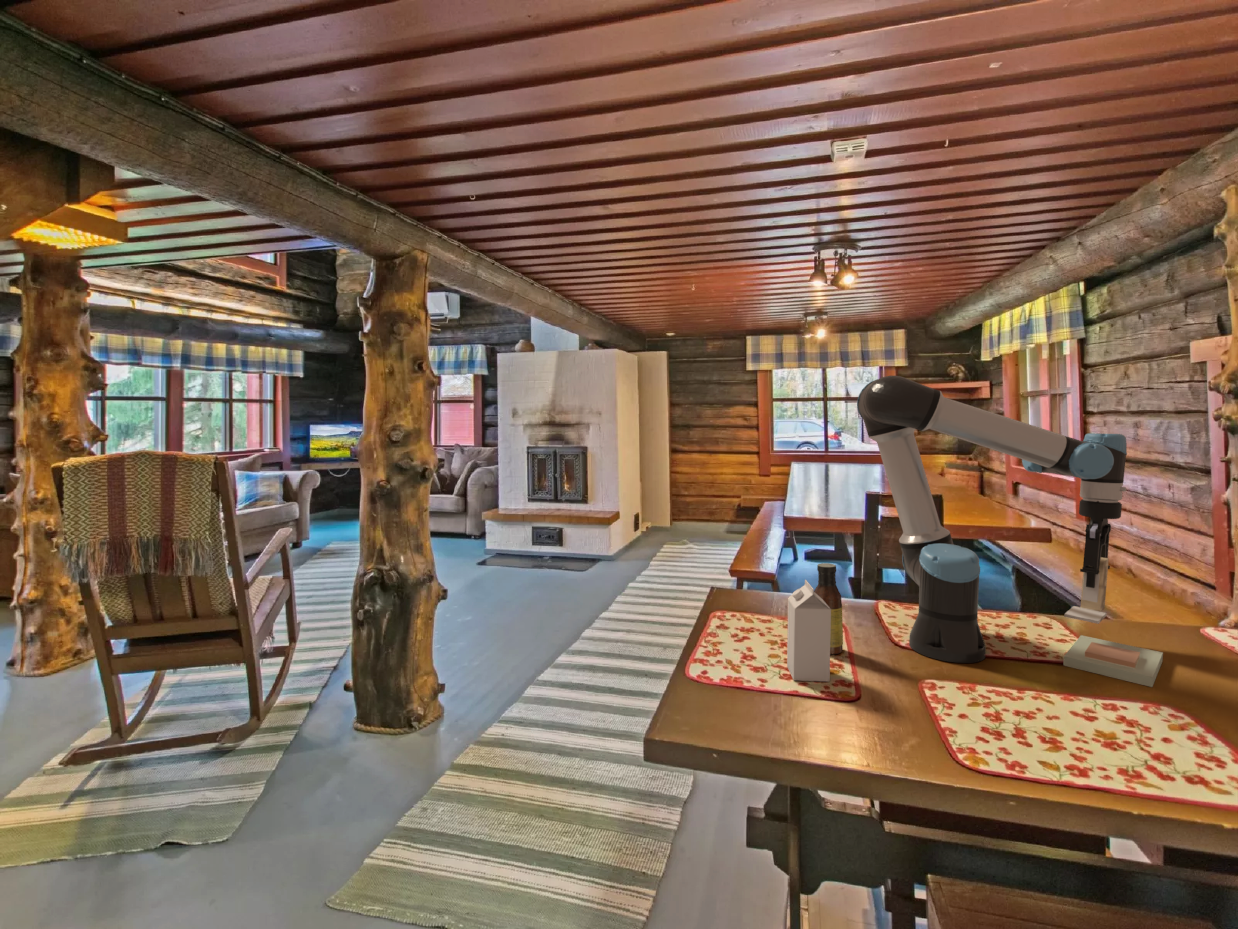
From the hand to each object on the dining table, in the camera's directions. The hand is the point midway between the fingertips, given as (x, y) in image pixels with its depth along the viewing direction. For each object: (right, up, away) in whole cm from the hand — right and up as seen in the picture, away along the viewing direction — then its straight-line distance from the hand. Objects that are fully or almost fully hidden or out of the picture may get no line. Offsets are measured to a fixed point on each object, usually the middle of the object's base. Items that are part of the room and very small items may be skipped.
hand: (1092, 597), depth 135 cm
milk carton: (-72, -13, -15) cm, 75 cm away
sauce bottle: (-63, -12, -3) cm, 64 cm away
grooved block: (-5, -12, -11) cm, 17 cm away
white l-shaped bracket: (-3, -3, -3) cm, 5 cm away
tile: (-7, -9, -13) cm, 17 cm away
